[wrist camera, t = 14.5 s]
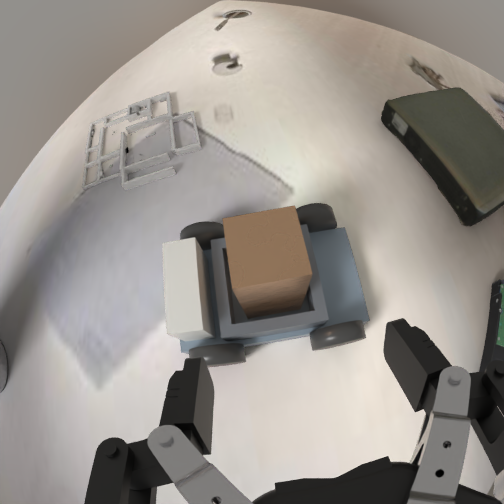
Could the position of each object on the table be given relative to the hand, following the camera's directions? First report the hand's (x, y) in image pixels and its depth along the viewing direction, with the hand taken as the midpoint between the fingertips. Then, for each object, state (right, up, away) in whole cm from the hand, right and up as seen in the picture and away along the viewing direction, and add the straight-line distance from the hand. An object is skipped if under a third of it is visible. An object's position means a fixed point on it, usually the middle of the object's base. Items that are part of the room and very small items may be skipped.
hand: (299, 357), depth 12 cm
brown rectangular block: (0, +1, +16) cm, 16 cm away
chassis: (0, 0, +18) cm, 18 cm away
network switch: (+31, +20, +25) cm, 44 cm away
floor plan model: (-17, +22, +30) cm, 41 cm away
